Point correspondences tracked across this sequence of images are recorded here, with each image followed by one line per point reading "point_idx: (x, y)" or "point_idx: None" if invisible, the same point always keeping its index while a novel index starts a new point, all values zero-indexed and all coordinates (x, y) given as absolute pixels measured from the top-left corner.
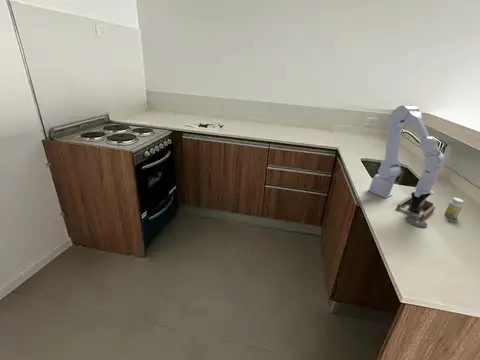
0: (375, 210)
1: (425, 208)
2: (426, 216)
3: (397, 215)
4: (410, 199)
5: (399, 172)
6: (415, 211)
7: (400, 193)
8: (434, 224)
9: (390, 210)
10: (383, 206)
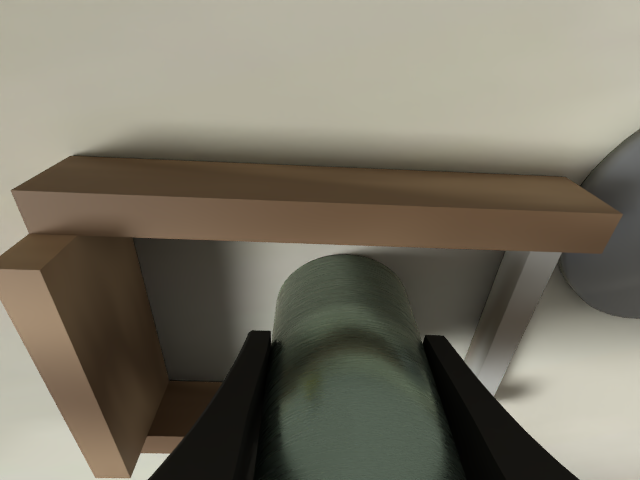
0: (636, 461)
1: (129, 249)
2: (434, 179)
3: (617, 364)
4: (164, 419)
5: None
6: (409, 304)
7: (56, 460)
8: (575, 13)
9: (544, 415)
10: None
